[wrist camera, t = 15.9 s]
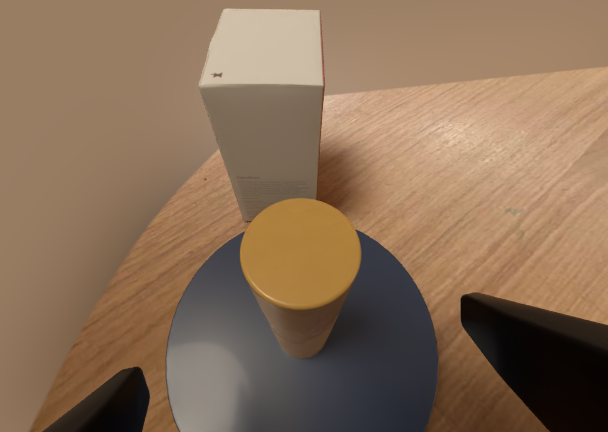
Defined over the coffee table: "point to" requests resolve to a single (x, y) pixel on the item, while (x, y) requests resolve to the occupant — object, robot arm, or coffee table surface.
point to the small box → (266, 103)
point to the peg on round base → (302, 332)
